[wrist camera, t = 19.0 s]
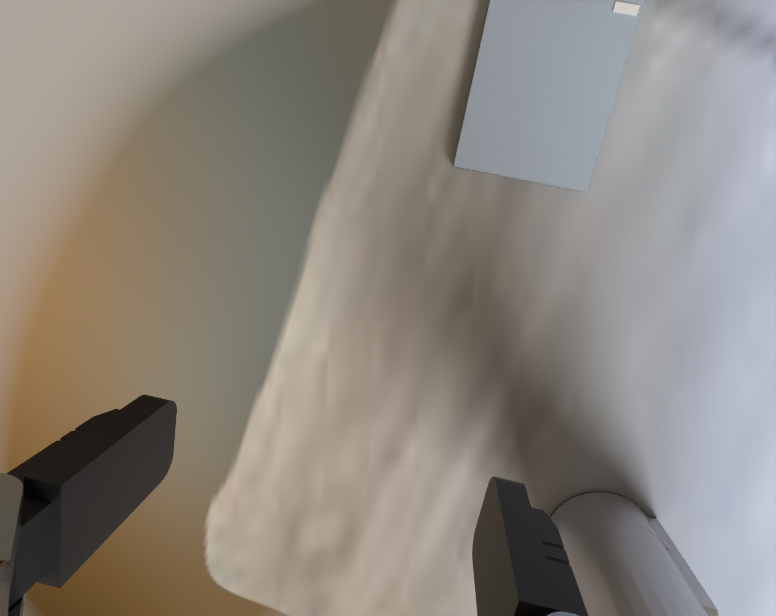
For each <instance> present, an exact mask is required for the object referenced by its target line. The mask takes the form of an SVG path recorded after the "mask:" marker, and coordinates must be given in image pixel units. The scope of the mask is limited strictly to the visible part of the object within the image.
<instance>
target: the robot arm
mask: <svg viewBox="0 0 776 616" xmlns="http://www.w3.org/2000/svg"><path fill="white" fill-rule="evenodd" d="M176 414H177V407H176V404H175V402H174V401H170V400H166V399H162V398H157V397H153V396H148V395H142V396H140V397H138V398H137V399H135V400H134V401H132V402H131V403H130V404H128V405H127V406H125V407H124V408H122V409H121V410H118V409H114V410H112V411H109V412H106V413H103V414H100V415H97V416H94V417H92V418H91V419H89V420H88V421H86V422H84V423H83V424H81V425H80V426H78V427H77V428H76V429H75V431H71V432H69V433H68V434H66V435H65V436H63V437H62V438H61V440H60V441H56V442H54V443H52V444H51V445H49V446H48V447H46V448H45V449H43V450H42V451H40V452H39V453H37V454H36V455H34V456H33V457H31V458H30V459H28V460H27V461H25V462H24V463H22V464H20V465H19V466H17V467H16V468H14V469H13V470H11V471H10V472H8V473H7V474H4V473H0V616H23V613H24V606H25V593H26V592H27V591H28V590H29V589H30V588H31V587H32V586H33V585H34V584H35V583H36V582H38V583H42V584H46V585H50V586H54V587H58V588H61V587H62V585H63V584H64V583H65V582H66V581H67V580H68V579H69V578H70V577H71V576H72V575H73V574H74V573H75V572H76V571H77V570H78V569H79V568H80V567H81V565H82V564H83V563H84V562H85V561H86V560H87V559H88V558H89V557H90V556H91V555H92V554H93V553H94V552H95V550H97V549H98V548H99V547H100V545H101V544H102V543H103V542H104V541H105V540H106V539H107V538H108V537H109V536H110V535H111V534H112V533H113V532H114V531H115V530H116V529H117V528H118V527H119V525H121V523H122V522H123V521H124V520H125V519H126V518H127V517H128V516H129V515H130V514H131V513H132V512H133V511H134V510H135V509H136V508H137V507H138V506H139V505H140V504H141V502H142V501H143V500H144V499H145V498H146V497H147V496H148V495H149V494H150V493H151V492H152V491H153V490H154V489H155V488H156V487H157V485H159V484H160V483H161V481H162V480H163V479H164V477H165V476H166V474H167V472H168V470H169V468H170V465H171V462H172V458H173V450H174V438H175V426H176ZM472 559H473V570H474V581H475V592H476V603H477V614H478V616H718V610H717V608H716V607H715V605H714V604H713V602H712V601H711V599H710V598H709V596H708V595H707V593H706V592H705V590H704V589H703V587H702V585H701V584H700V582H699V581H698V579H697V578H696V576H695V575H694V573H693V572H692V570H691V569H690V567H689V566H688V564H687V563H686V561H685V560H684V558H683V557H682V555H681V554H680V552H679V551H678V549H677V548H676V546H675V545H674V543H673V542H672V540H671V539H670V537H669V536H668V534H667V533H666V531H665V530H664V528H663V527H662V525H661V524H660V522H659V521H658V520H657V519H653V518H650V517H647V516H646V515H645V514H644V513H643V512H642V510H641V509H640V508H639V507H638V506H637V505H635V504H634V503H633V502H631V501H630V500H628V499H626V498H624V497H622V496H619V495H615V494H611V493H602V492H594V493H586V494H583V495H579V496H576V497H574V498H572V499H570V500H568V501H566V502H565V503H563V504H562V505H561V506H560V507H558V508H557V509H556V511H555V512H554V513H553V514H552V516H551V517H550V518H549V517H548V516H547V514H546V513H545V512H544V511H543V510H539V509H535V508H531V505H530V502H529V498H528V495H527V491H526V488H525V485H524V484H523V483H519V482H514V481H510V480H506V479H501V478H497V477H492V478H491V479H490V481H489V484H488V487H487V491H486V494H485V498H484V501H483V505H482V508H481V512H480V515H479V518H478V522H477V525H476V529H475V533H474V539H473V549H472Z"/></svg>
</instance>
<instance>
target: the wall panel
mask: <svg viewBox="0 0 776 616" xmlns="http://www.w3.org/2000/svg"><path fill="white" fill-rule="evenodd" d="M643 2H644V0H490V3H489V7H488V12H487V16H486V21H485V25H484V30H483V34H482V39H481V43H480V48H479V52H478V57H477V61H476V66H475V70H474V75H473V79H472V84H471V88H470V93H469V97H468V102H467V107H466V111H465V116H464V120H463V125H462V129H461V134H460V138H459V143H458V147H457V152H456V156H455V161H454V165H453V167H458V168H463V169H468V170H474V171H479V172H484V173H489V174H494V175H499V176H504V177H509V178H514V179H519V180H524V181H529V182H534V183H539V184H544V185H549V186H554V187H559V188H564V189H569V190H574V191H579V192H587V190H588V187H589V183H590V180H591V177H592V173H593V170H594V167H595V163H596V160H597V157H598V153H599V150H600V147H601V143H602V140H603V136H604V133H605V130H606V126H607V123H608V120H609V116H610V113H611V110H612V106H613V103H614V100H615V96H616V93H617V89H618V86H619V83H620V79H621V76H622V73H623V69H624V66H625V63H626V59H627V56H628V53H629V49H630V46H631V42H632V39H633V36H634V32H635V29H636V26H637V22H638V19H639V16H640V12H641V9H642V6H643Z"/></svg>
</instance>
